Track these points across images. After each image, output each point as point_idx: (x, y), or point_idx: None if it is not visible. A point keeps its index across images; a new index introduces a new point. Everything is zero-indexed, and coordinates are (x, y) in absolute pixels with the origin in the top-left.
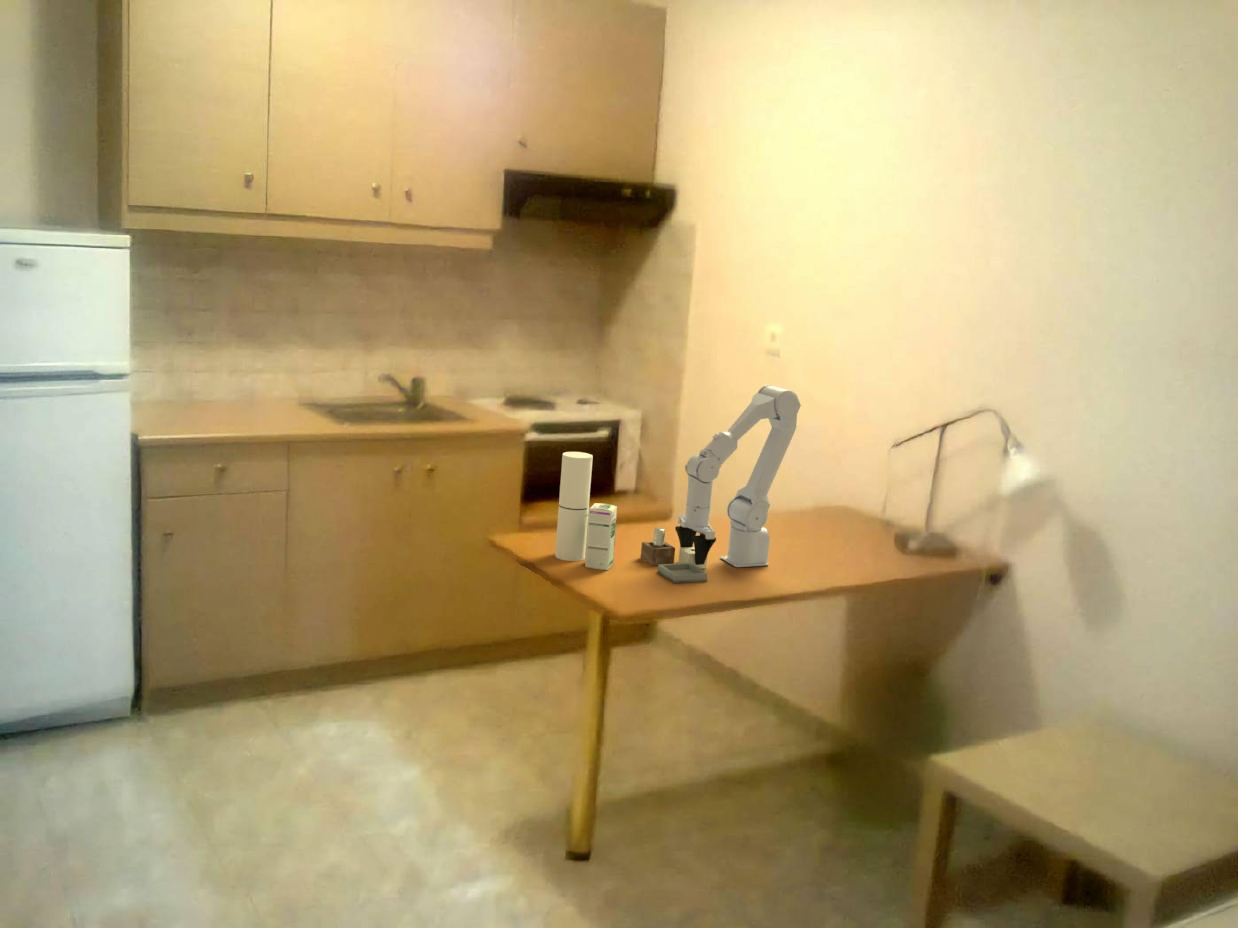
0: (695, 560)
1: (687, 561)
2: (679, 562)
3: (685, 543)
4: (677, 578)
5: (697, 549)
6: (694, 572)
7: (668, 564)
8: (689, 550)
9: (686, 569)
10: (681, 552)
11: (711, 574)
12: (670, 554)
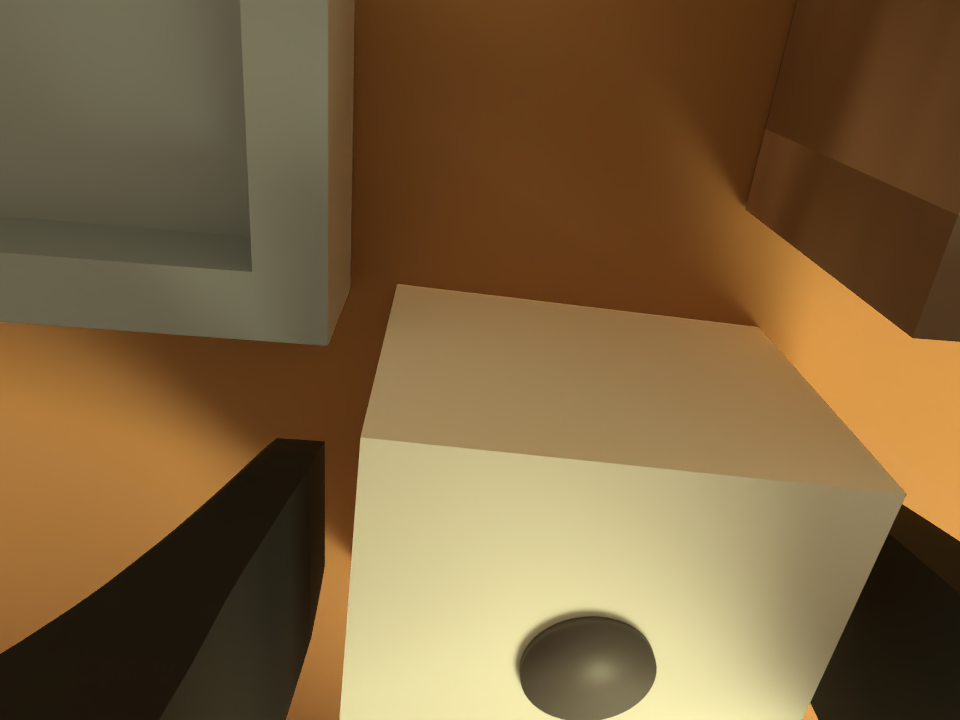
0: (284, 466)
1: (421, 345)
2: (725, 330)
3: (951, 707)
4: None
5: (14, 647)
6: (13, 220)
7: None
8: (610, 582)
9: (235, 178)
10: (758, 431)
11: (73, 497)
12: (860, 153)
